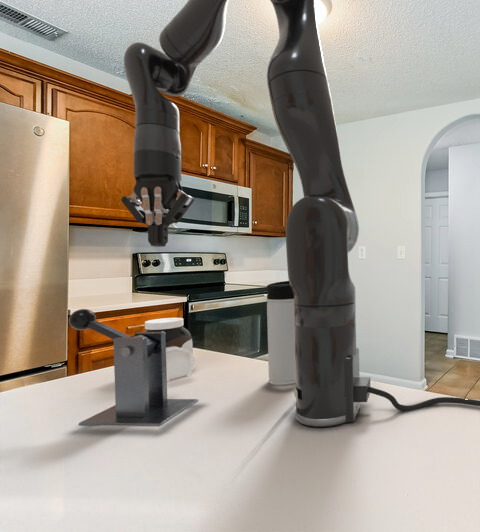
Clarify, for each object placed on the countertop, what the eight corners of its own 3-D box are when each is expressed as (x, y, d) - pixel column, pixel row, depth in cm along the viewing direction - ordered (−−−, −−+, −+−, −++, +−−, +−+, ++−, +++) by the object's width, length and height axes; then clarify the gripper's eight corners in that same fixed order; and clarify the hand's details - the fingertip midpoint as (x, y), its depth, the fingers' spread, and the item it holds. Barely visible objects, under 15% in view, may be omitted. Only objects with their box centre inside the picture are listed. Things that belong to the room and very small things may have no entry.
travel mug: (311, 382, 72) (309, 279, 72) (284, 393, 67) (281, 281, 66) (289, 377, 75) (287, 278, 75) (261, 387, 70) (259, 281, 69)
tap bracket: (78, 431, 53) (75, 342, 52) (128, 406, 62) (125, 329, 61) (160, 432, 52) (157, 341, 52) (198, 406, 61) (196, 329, 61)
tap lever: (59, 326, 55) (67, 307, 55) (79, 322, 59) (86, 304, 59) (137, 363, 55) (145, 343, 55) (152, 357, 58) (160, 339, 58)
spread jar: (167, 368, 83) (166, 316, 83) (214, 369, 82) (213, 316, 81) (120, 386, 71) (118, 326, 71) (173, 388, 70) (172, 327, 69)
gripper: (107, 149, 67) (107, 245, 66) (179, 145, 66) (180, 242, 65) (138, 163, 74) (138, 250, 73) (203, 160, 74) (204, 247, 73)
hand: (158, 246), depth 69 cm, fingers closed
